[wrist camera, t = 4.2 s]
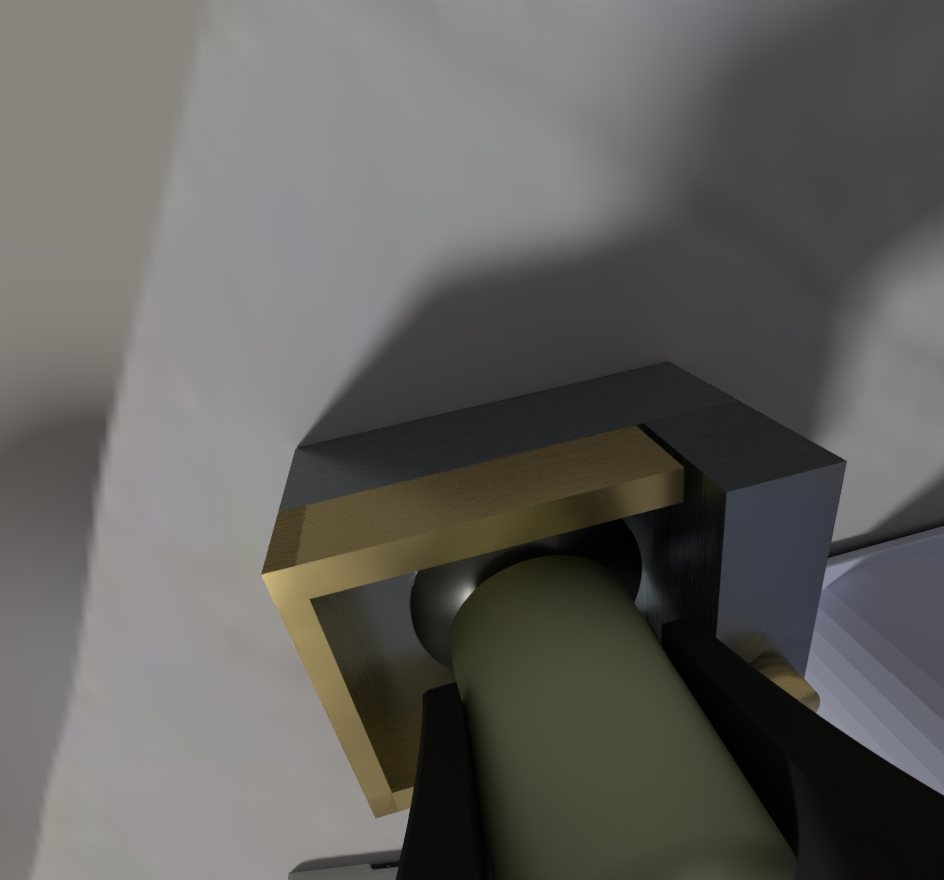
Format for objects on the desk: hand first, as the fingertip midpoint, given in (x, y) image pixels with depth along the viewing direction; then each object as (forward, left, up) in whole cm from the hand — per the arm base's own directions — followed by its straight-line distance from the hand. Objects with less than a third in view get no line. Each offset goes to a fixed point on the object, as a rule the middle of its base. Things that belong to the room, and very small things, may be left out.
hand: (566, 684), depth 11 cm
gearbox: (0, 0, -6) cm, 6 cm away
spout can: (0, 0, -2) cm, 2 cm away
